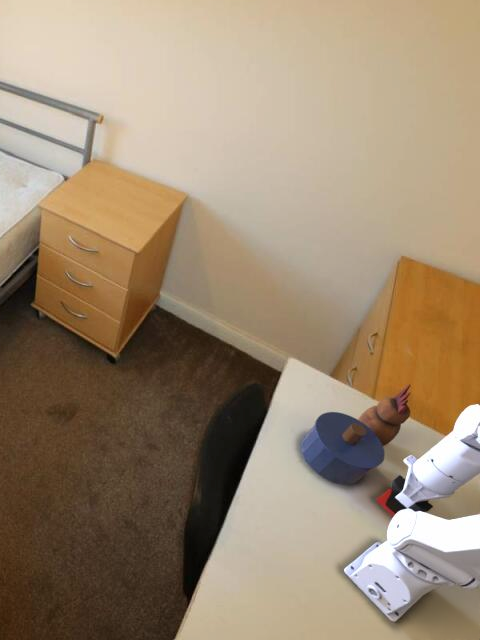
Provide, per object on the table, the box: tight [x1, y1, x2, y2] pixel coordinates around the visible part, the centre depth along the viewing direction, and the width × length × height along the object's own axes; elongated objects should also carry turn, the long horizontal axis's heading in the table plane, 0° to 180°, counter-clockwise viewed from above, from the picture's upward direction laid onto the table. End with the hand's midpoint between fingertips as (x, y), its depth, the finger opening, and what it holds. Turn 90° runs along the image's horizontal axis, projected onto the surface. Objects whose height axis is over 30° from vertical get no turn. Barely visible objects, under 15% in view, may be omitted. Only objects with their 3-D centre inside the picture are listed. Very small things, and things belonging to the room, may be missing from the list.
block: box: [375, 486, 430, 517], centre depth 90 cm, size 4×4×5 cm
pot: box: [300, 424, 372, 486], centre depth 95 cm, size 10×10×6 cm
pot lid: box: [314, 411, 386, 470], centre depth 92 cm, size 11×11×4 cm
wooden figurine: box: [357, 384, 411, 447], centre depth 96 cm, size 7×6×15 cm
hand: (400, 502), depth 90 cm, fingers closed on block, 4 cm apart
